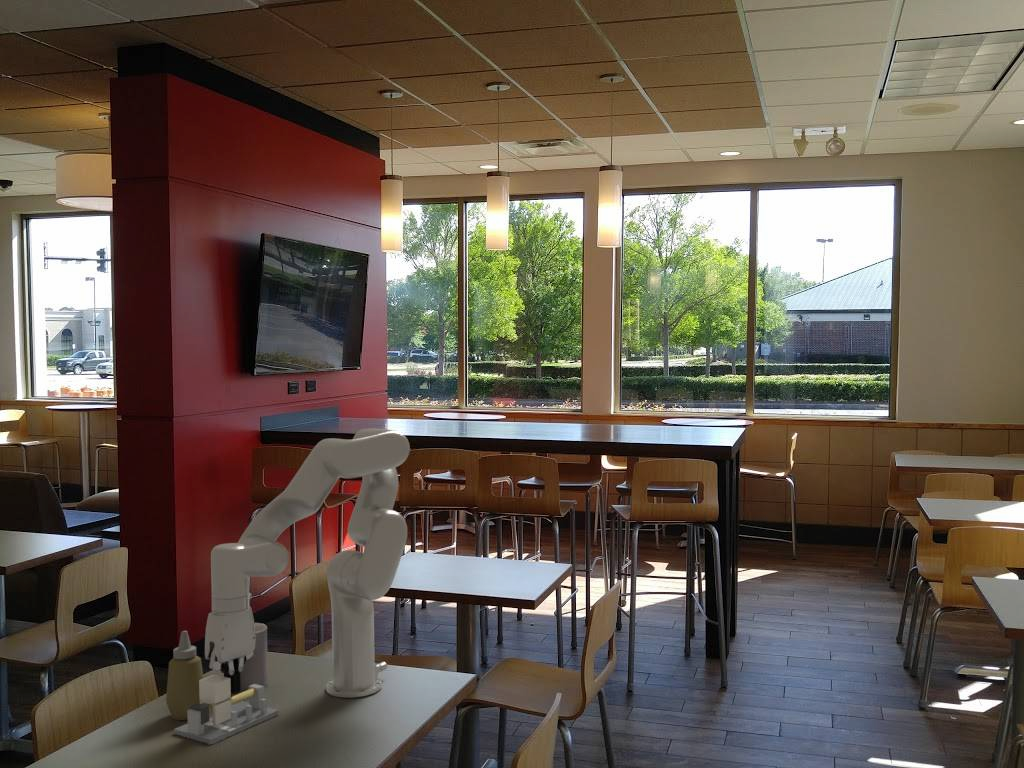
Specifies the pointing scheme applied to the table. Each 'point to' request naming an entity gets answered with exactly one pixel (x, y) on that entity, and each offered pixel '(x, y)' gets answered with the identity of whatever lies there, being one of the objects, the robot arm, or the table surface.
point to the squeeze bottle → (183, 679)
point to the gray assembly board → (240, 719)
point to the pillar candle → (256, 661)
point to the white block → (216, 697)
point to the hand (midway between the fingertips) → (232, 691)
